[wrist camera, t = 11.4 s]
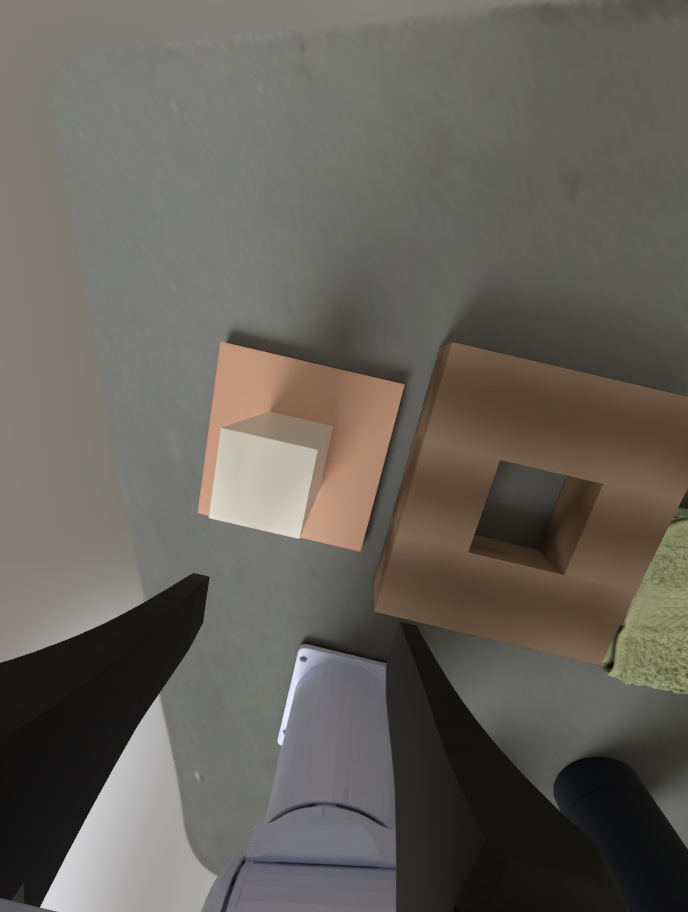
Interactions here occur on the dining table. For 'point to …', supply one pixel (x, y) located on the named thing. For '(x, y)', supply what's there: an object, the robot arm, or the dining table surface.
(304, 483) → the plug
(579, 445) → the brown board with hole
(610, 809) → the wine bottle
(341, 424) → the tile
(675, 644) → the washcloth
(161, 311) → the dining table surface
